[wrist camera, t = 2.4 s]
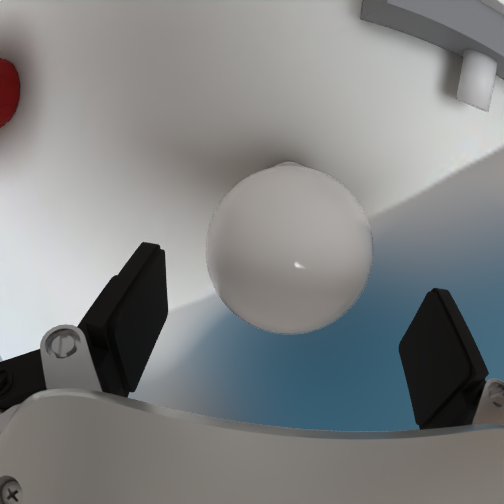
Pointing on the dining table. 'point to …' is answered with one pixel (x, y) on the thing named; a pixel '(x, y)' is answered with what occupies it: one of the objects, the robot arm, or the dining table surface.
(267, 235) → the lightbulb
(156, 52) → the dining table surface
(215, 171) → the dining table surface
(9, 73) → the plastic cup
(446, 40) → the octagon ring base plate
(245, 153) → the dining table surface
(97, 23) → the dining table surface
